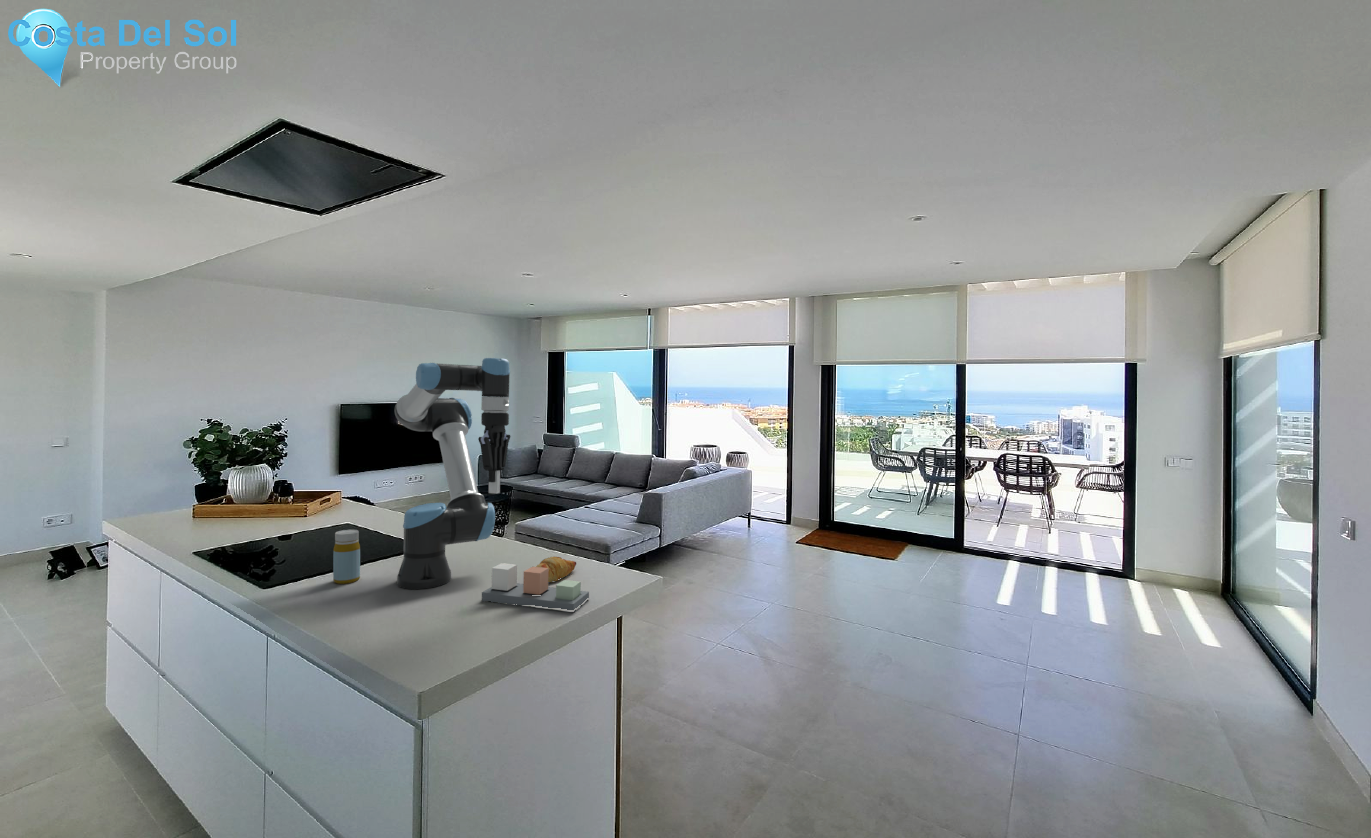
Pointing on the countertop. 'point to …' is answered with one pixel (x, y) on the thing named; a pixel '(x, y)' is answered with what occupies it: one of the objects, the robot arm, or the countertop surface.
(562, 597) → the key sage
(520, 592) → the grey slotted tray
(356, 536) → the bottle
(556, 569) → the croissant
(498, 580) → the key white
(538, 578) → the key terracotta
